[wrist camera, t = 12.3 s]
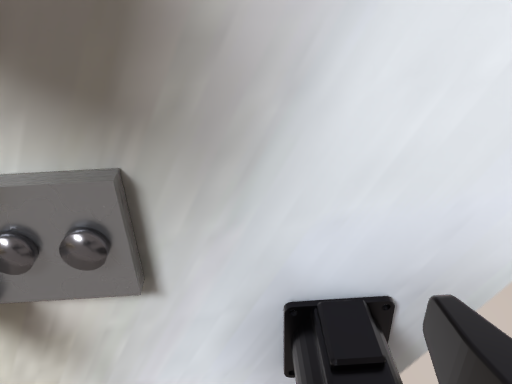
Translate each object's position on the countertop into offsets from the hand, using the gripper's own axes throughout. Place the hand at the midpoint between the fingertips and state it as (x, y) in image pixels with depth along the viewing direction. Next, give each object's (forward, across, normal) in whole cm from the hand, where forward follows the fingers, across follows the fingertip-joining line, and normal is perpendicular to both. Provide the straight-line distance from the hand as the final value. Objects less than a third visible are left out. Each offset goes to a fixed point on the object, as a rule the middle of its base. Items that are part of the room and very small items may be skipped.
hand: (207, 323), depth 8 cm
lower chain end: (+12, +12, +6) cm, 18 cm away
